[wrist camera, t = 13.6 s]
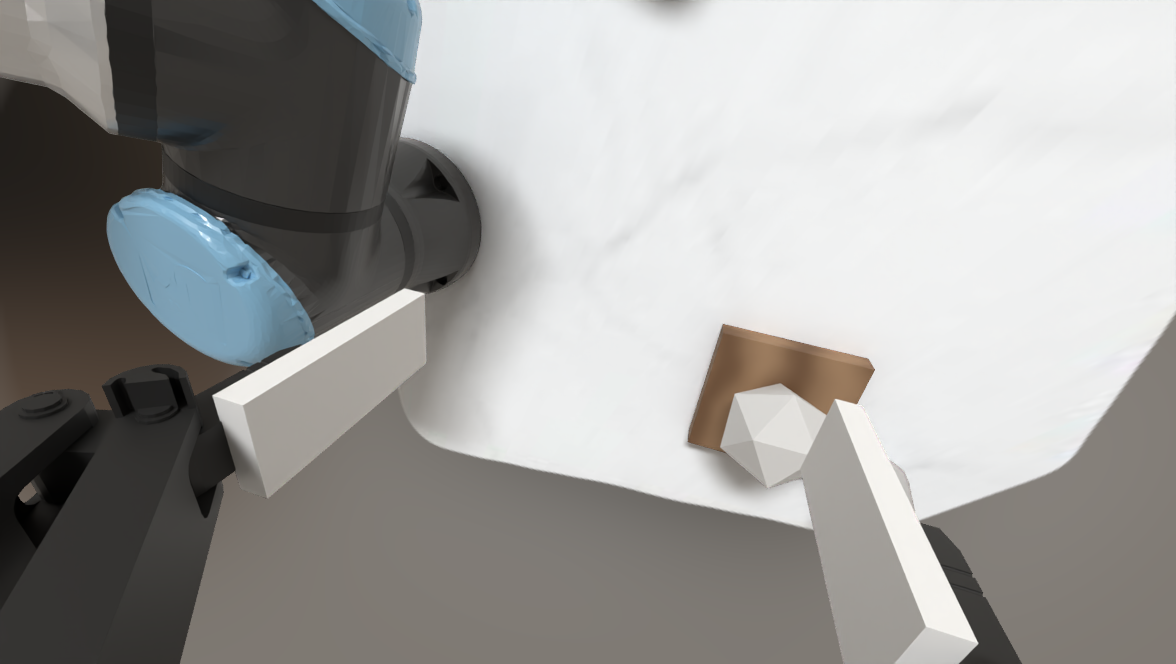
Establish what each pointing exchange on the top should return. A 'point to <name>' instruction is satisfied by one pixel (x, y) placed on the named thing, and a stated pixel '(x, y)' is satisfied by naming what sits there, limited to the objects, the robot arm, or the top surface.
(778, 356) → the walnut board
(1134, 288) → the top surface
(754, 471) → the die
